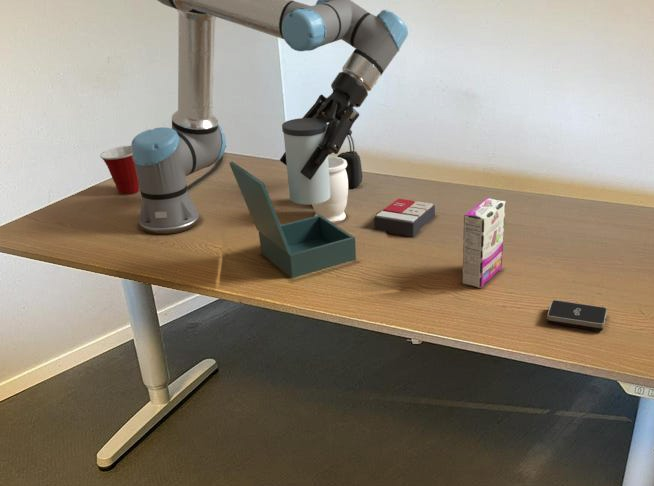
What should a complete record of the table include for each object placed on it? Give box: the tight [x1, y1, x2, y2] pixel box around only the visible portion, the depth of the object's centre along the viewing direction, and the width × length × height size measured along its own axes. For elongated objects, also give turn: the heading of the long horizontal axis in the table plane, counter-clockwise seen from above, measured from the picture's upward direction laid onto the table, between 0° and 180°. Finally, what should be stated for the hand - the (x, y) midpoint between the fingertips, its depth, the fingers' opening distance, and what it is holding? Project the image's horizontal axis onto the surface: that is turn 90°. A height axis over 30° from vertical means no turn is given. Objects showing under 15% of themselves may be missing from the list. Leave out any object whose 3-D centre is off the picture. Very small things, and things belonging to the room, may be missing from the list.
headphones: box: [327, 123, 363, 189], centre depth 201 cm, size 22×6×20 cm, turn 152°
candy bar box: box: [461, 197, 507, 289], centre depth 157 cm, size 11×5×16 cm, turn 148°
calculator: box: [373, 198, 436, 237], centre depth 187 cm, size 11×4×15 cm
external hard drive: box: [546, 299, 608, 332], centre depth 145 cm, size 7×11×2 cm, turn 70°
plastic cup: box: [99, 145, 140, 195], centre depth 208 cm, size 11×11×12 cm
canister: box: [281, 117, 331, 205], centre depth 156 cm, size 9×9×16 cm
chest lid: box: [228, 161, 291, 254], centre depth 158 cm, size 17×17×1 cm
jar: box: [311, 156, 349, 222], centre depth 188 cm, size 11×10×15 cm
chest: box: [258, 215, 357, 279], centre depth 169 cm, size 17×17×6 cm
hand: (294, 170), depth 155 cm, fingers closed on canister, 9 cm apart
